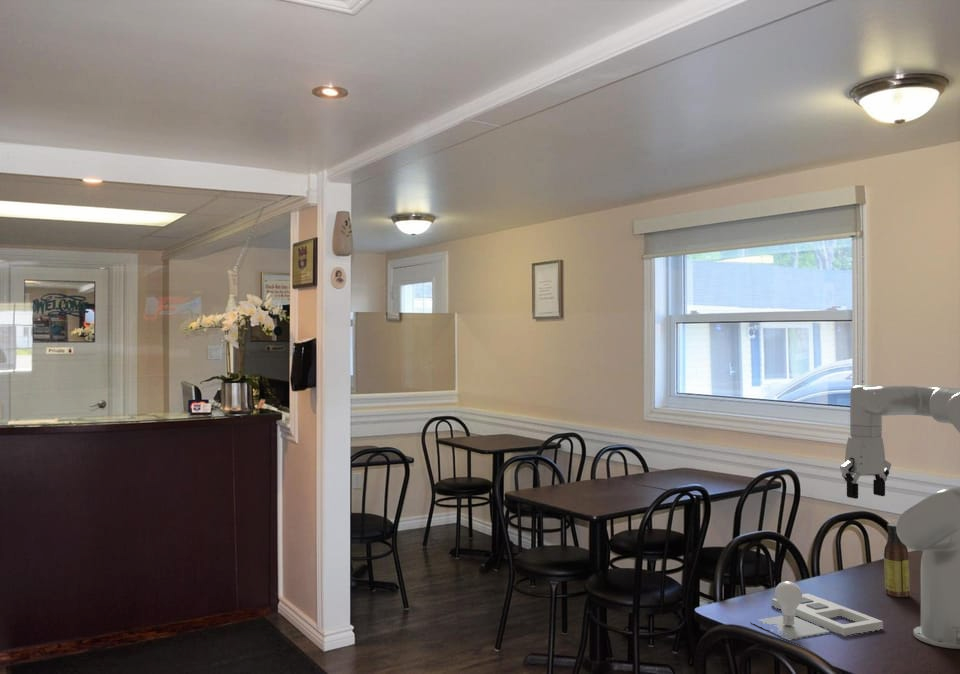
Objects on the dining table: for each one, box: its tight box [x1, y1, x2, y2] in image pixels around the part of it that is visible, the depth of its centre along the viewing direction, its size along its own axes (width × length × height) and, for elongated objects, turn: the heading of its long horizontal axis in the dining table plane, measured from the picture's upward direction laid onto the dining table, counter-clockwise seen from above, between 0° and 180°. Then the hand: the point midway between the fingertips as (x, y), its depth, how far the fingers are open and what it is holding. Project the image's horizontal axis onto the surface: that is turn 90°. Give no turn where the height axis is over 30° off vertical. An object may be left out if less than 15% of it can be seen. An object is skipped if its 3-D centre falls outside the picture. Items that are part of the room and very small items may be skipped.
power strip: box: [770, 593, 884, 636], centre depth 203 cm, size 24×13×3 cm, turn 23°
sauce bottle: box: [883, 522, 911, 598], centre depth 223 cm, size 7×6×20 cm
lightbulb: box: [774, 580, 803, 627], centre depth 195 cm, size 6×6×11 cm
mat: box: [758, 615, 831, 640], centre depth 195 cm, size 13×13×1 cm
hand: (865, 496), depth 209 cm, fingers open, 9 cm apart
